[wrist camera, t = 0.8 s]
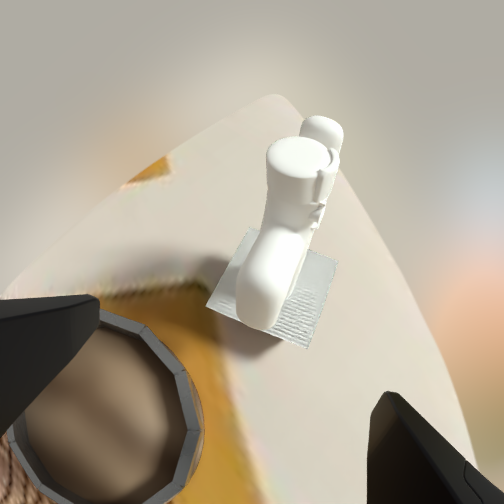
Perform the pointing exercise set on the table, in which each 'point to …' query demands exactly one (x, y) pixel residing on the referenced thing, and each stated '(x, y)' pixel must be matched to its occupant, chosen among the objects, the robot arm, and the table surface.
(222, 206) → the table surface
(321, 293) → the figurine
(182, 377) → the round grey tray
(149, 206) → the table surface
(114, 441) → the brown round plate
